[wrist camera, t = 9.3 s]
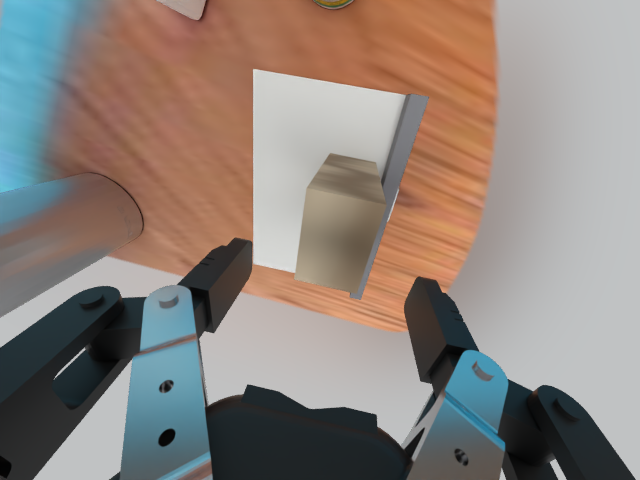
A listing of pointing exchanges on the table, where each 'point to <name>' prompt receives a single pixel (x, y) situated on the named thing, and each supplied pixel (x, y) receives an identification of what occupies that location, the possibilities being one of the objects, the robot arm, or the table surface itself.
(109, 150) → the table surface
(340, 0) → the supplement bottle
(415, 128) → the shelf
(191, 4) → the pepper shaker
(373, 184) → the tea box
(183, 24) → the table surface
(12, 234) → the robot arm
